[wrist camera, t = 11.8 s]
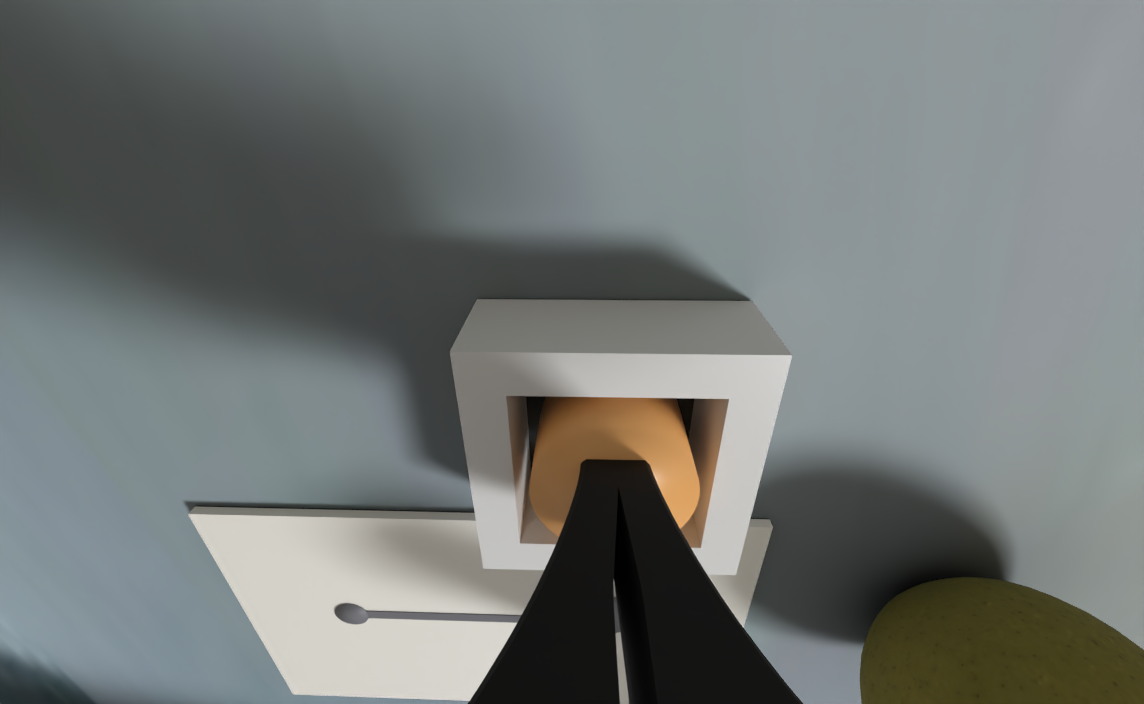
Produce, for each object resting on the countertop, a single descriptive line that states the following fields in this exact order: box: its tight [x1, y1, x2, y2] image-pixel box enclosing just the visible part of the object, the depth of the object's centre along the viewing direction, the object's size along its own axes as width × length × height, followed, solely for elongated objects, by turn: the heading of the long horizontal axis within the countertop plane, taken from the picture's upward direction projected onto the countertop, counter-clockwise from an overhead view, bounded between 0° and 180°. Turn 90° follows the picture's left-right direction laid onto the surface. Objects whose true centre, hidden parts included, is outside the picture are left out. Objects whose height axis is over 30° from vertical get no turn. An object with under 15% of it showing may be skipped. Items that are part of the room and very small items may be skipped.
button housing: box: [450, 299, 792, 575], centre depth 12 cm, size 6×6×2 cm
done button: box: [529, 396, 700, 536], centre depth 11 cm, size 4×4×2 cm
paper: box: [188, 507, 773, 701], centre depth 17 cm, size 11×18×1 cm, turn 91°
